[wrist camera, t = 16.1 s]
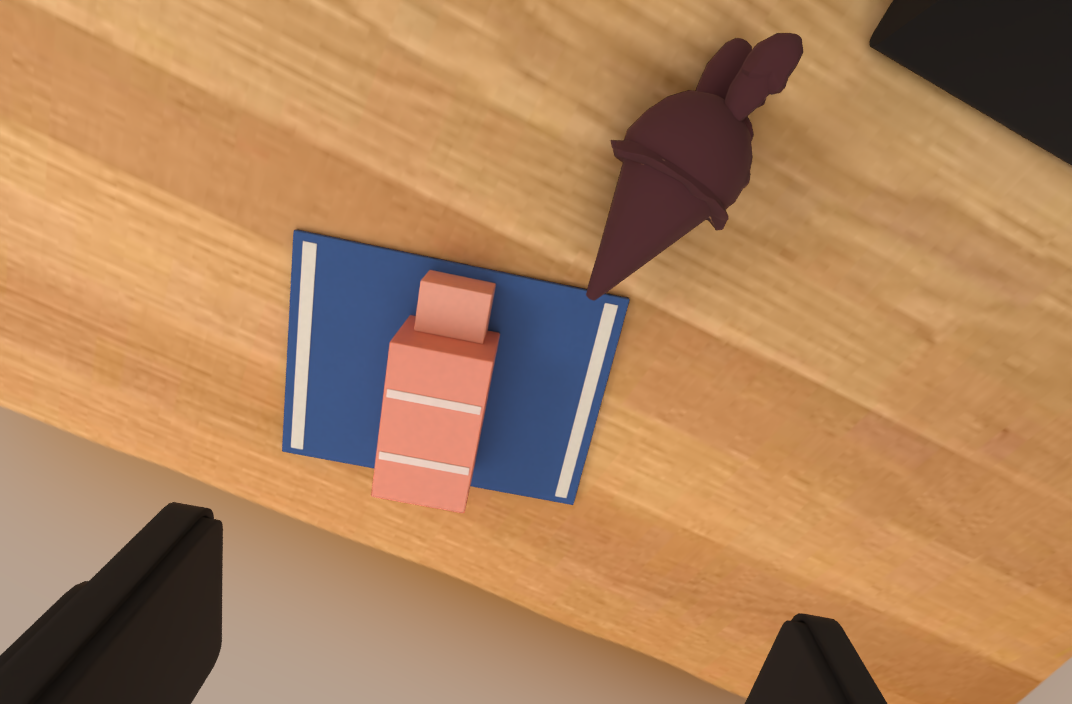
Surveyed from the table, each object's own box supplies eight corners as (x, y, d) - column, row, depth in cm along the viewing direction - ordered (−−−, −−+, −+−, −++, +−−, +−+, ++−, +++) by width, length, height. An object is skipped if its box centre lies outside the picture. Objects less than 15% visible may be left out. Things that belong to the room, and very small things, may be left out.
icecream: (667, 355, 29) (868, 86, 26) (552, 286, 26) (763, -31, 22) (617, 308, 35) (774, 85, 32) (519, 248, 32) (681, -7, 29)
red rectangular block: (416, 266, 34) (395, 287, 29) (509, 285, 34) (503, 309, 29) (391, 454, 38) (370, 497, 34) (473, 469, 39) (464, 514, 34)
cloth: (296, 229, 33) (292, 230, 33) (629, 297, 35) (630, 299, 34) (284, 448, 39) (281, 452, 38) (572, 501, 40) (573, 505, 39)
